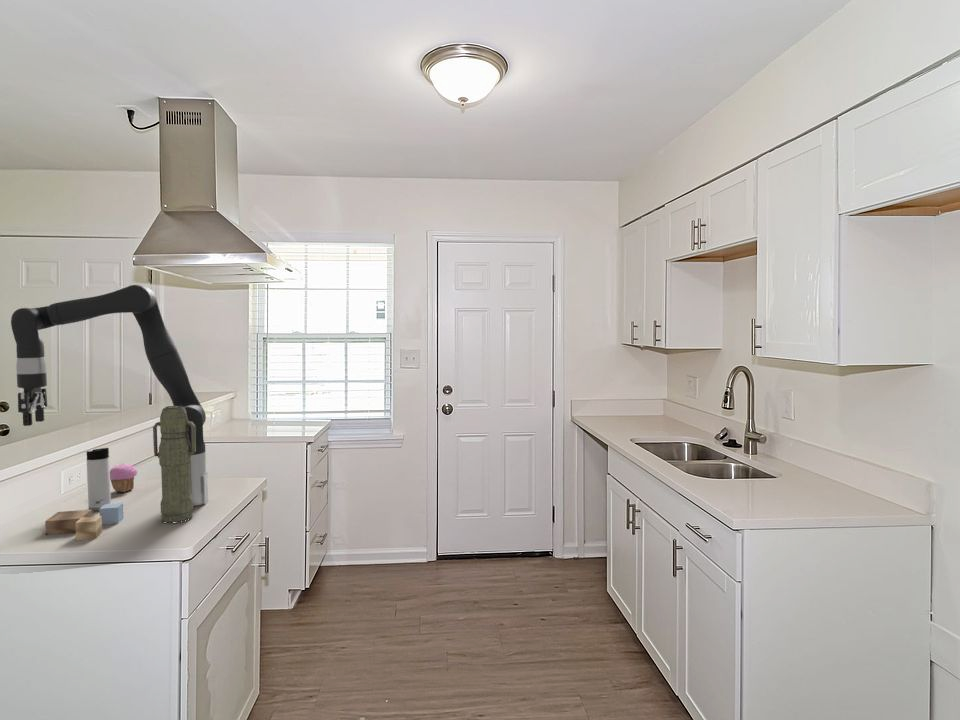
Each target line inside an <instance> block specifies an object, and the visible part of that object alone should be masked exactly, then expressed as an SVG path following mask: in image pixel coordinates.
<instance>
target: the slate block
mask: <svg viewBox="0 0 960 720" xmlns="http://www.w3.org/2000/svg"><path fill="white" fill-rule="evenodd" d="M98 512H99V516H102V526H103V525H113V523H117V524H120V523H121V521H123V520H124V518H125V517H124V502H116V503H115V502H114V503H111V504H104V505H103V506H102V507H101V508H100V509H99V511H98ZM119 522H120V523H119Z"/></svg>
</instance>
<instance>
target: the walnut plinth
mask: <svg viewBox="0 0 960 720" xmlns="http://www.w3.org/2000/svg"><path fill="white" fill-rule="evenodd" d="M82 517H93V511H92V510H89V509H81V510H80V509H78V510H66V511H57V512H56V513H54V514H53V515H52V516H51V517H48V519H46V520H45V521H44V522H45V523H44V524H45V525H44V528H45V535H46V534H51V535H61V534H60V533H63V534H72V533H73V534H74V533H75V534H76V524H75V523H76V522H77V521H78V520H79V519H81V518H82Z"/></svg>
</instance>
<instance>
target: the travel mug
mask: <svg viewBox="0 0 960 720" xmlns="http://www.w3.org/2000/svg"><path fill="white" fill-rule="evenodd" d="M109 449H110V448H109V447H102V448H101V447H100V448H95V449H92V450H87V451H86V474H87V475H86V476H87V499H88V501H87V502H88V510H92V512H100V511H99V509H100V508H101V507H102V506H103V505H104V504H112V496H111V494H112V493H111V492H112V491H111V480H110V470H111V468H110V466H111V465H110V451H109Z"/></svg>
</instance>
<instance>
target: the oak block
mask: <svg viewBox="0 0 960 720" xmlns="http://www.w3.org/2000/svg"><path fill="white" fill-rule="evenodd" d="M75 524H76V533H75V541H83V540H93V539H98V537H99V536H101V535H102V533H103V525H102V516H100V515H99V516H98V515H96V516H92V517H82V518H81V519H79V520H78V521H77V522H76V523H75Z"/></svg>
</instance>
